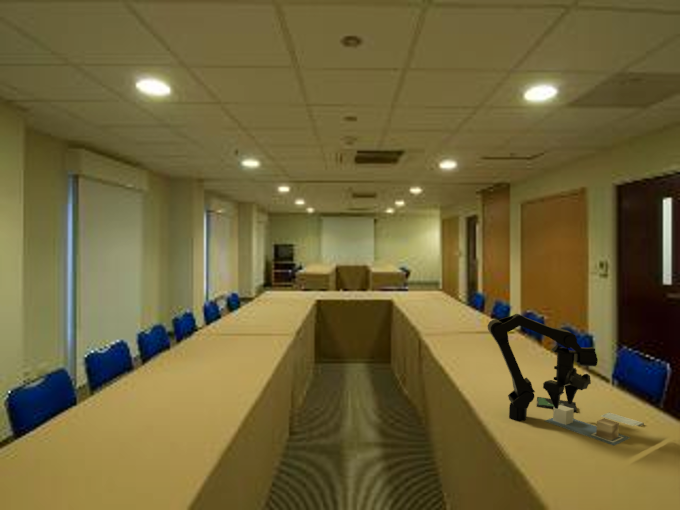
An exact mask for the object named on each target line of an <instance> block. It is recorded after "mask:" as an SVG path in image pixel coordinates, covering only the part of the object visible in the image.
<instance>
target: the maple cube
mask: <svg viewBox="0 0 680 510" xmlns="http://www.w3.org/2000/svg"><path fill="white" fill-rule="evenodd" d="M596 426H597V431H596V435H597V436H600V437H603V438H606V439H608V440H613V439H616V438H618V435H619V434H620V433H619V430H620V429H619V427H620V422H618V421H615V420H611V419H608V418H605V417H603V418H602V419H601V418H600V419H598V420H597V421H596Z"/></svg>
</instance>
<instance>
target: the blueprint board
mask: <svg viewBox="0 0 680 510" xmlns="http://www.w3.org/2000/svg"><path fill="white" fill-rule="evenodd" d="M544 422H546V423H549V424H551V425H554V426H556V427H560V428H562V429H566V430H569V431H571V432H574V433H577V434H580V435H583V436H585V437H588V438H590V439H594V440H597V441H599V442H603V443H606V444H608V445H611V446H613V447H614V446H616V445H620V444H621V443H623V442H625V441H627V440H629V439H631V438H632V437H630V436H628V435H624V434H621V433H619V435H618V438H616V439H613V440H608V439H606V438H603V437H600V436H597V435H596V431H597V425H594V424H592V423H588V422H585V421H581V420H579V419H576V418H573V422H572V423H569V424H567V425H565V424H562V423H559V422H556V421H553V417H551V418H549V419H545V420H544Z"/></svg>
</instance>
